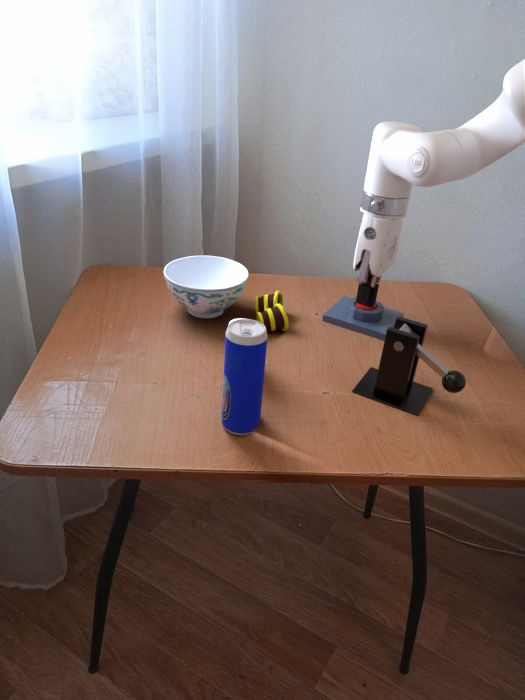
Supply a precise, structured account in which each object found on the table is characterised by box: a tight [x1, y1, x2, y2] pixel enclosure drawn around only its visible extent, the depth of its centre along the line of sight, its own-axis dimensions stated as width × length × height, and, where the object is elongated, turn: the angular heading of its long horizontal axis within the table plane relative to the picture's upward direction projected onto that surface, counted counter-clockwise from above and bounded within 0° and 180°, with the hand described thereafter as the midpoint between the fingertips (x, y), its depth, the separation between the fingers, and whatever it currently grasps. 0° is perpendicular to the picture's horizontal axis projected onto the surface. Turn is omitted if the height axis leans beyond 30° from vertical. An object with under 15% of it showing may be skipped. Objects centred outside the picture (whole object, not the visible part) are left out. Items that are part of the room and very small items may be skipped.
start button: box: [355, 303, 376, 310], centre depth 102 cm, size 4×4×2 cm
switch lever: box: [399, 324, 467, 394], centre depth 79 cm, size 12×3×3 cm, turn 60°
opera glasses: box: [254, 290, 290, 332], centre depth 100 cm, size 10×5×5 cm, turn 5°
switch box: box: [322, 295, 405, 341], centre depth 102 cm, size 12×10×4 cm
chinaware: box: [163, 255, 249, 319], centre depth 102 cm, size 15×15×8 cm
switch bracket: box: [351, 316, 434, 417], centre depth 81 cm, size 10×8×12 cm
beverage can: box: [221, 318, 269, 436], centre depth 72 cm, size 5×5×15 cm
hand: (365, 303), depth 101 cm, fingers closed
